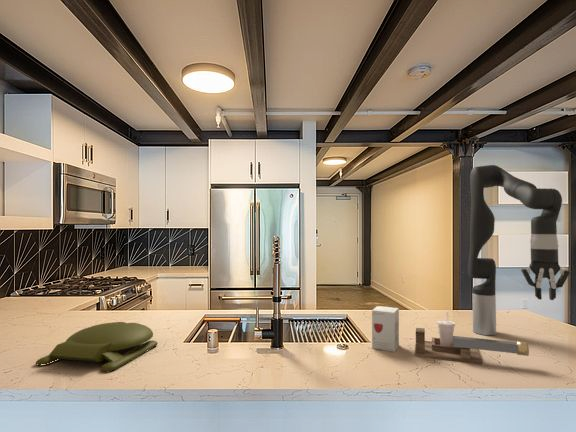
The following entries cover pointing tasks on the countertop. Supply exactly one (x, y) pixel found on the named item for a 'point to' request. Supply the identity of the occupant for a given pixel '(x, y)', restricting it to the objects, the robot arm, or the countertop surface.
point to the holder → (443, 350)
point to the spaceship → (104, 344)
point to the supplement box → (385, 328)
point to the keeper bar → (491, 345)
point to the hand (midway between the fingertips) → (545, 299)
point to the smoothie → (446, 331)
